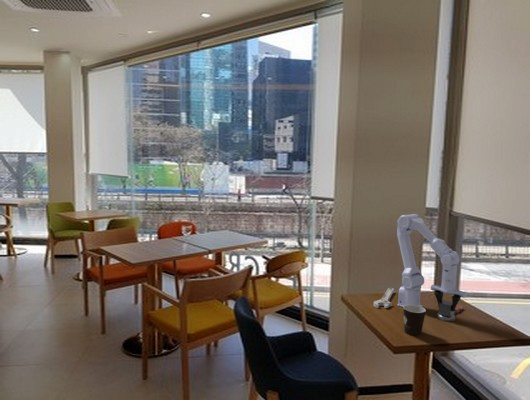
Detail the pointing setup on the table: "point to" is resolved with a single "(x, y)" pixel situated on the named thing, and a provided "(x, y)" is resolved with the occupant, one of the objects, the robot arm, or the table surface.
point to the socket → (445, 308)
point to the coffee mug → (413, 319)
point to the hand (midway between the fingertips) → (446, 309)
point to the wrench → (384, 299)
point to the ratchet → (451, 318)
